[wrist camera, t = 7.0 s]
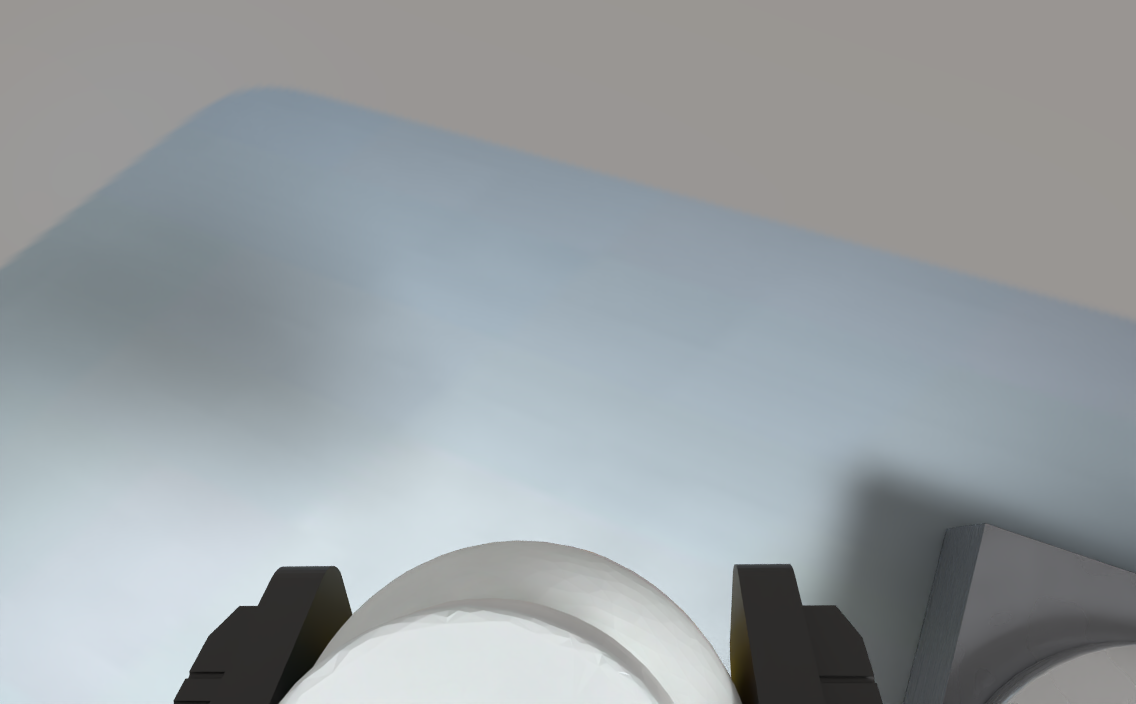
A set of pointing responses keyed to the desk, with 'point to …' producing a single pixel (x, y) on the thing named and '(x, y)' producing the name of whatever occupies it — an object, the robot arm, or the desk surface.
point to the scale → (1024, 625)
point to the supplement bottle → (518, 637)
